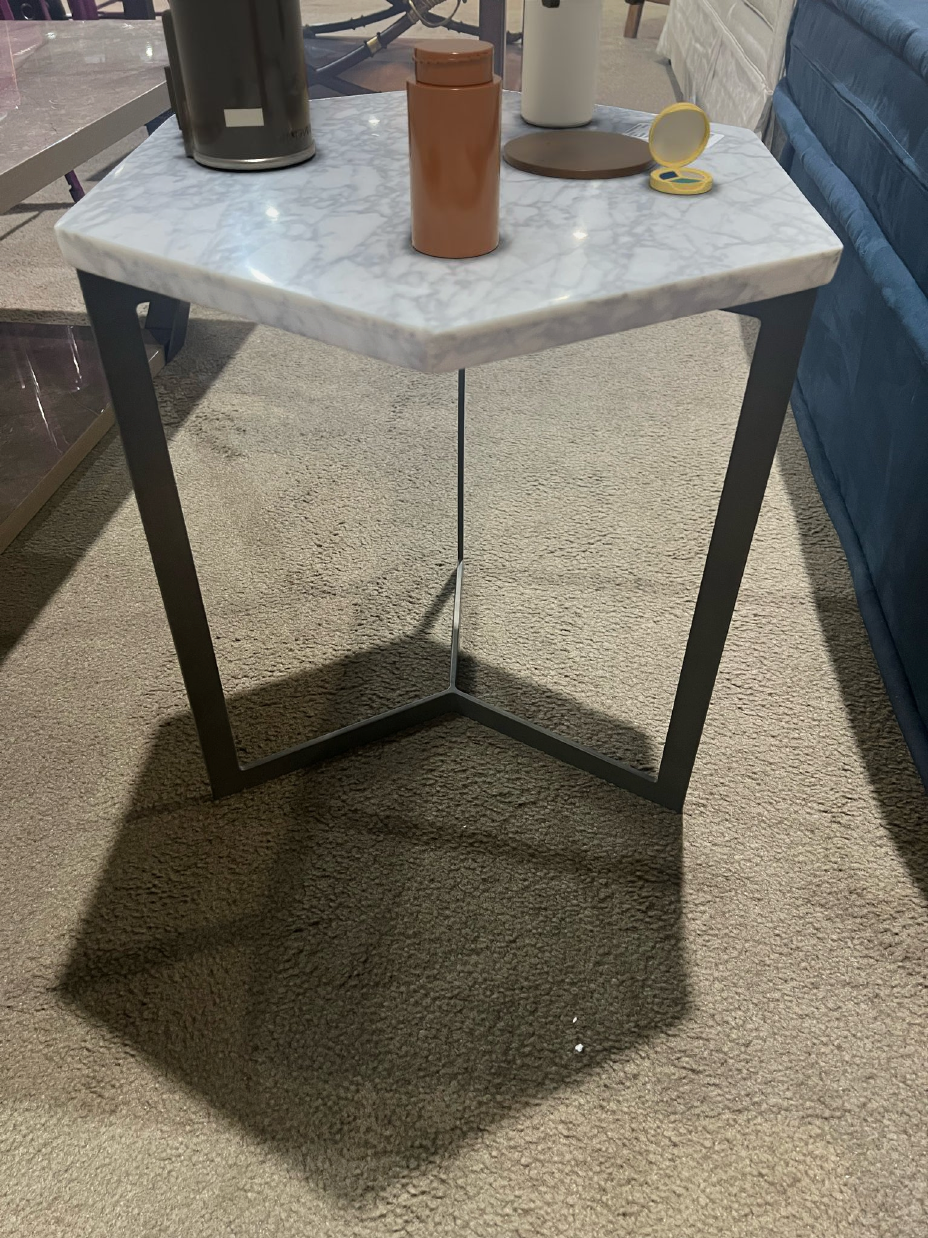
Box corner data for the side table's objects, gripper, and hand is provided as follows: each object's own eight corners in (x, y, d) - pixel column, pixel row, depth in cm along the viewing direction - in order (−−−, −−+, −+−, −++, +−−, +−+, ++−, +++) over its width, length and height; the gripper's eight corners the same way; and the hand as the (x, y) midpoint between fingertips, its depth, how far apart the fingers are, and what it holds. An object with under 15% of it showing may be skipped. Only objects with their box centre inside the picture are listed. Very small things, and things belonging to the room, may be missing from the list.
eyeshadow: (657, 194, 65) (667, 116, 62) (641, 174, 69) (650, 100, 66) (718, 193, 65) (731, 115, 62) (699, 173, 69) (711, 99, 66)
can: (508, 123, 81) (512, -45, 73) (538, 108, 85) (546, -52, 78) (576, 131, 79) (589, -41, 71) (604, 115, 83) (619, -49, 75)
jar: (395, 247, 57) (385, 47, 50) (441, 223, 60) (438, 33, 54) (470, 264, 55) (471, 57, 48) (514, 237, 58) (520, 42, 51)
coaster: (475, 163, 71) (475, 155, 71) (546, 130, 79) (546, 122, 79) (618, 187, 66) (619, 178, 66) (679, 149, 74) (680, 141, 74)
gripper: (517, -345, 51) (509, 16, 62) (756, -339, 54) (708, 8, 65) (484, -327, 57) (482, 1, 68) (701, -322, 59) (665, -6, 70)
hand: (592, 3), depth 66 cm, fingers closed on jar lid, 5 cm apart
